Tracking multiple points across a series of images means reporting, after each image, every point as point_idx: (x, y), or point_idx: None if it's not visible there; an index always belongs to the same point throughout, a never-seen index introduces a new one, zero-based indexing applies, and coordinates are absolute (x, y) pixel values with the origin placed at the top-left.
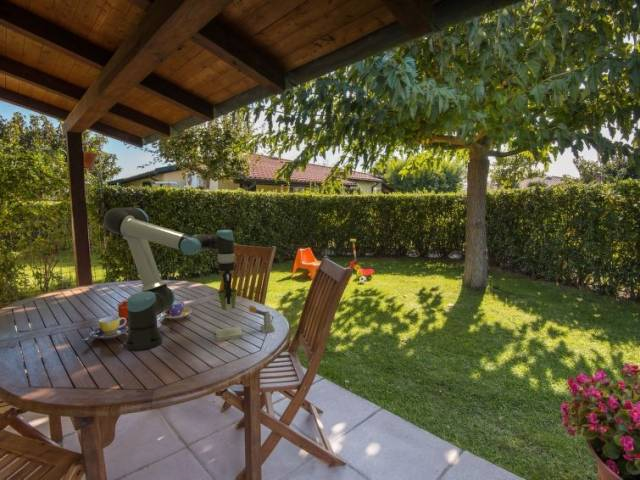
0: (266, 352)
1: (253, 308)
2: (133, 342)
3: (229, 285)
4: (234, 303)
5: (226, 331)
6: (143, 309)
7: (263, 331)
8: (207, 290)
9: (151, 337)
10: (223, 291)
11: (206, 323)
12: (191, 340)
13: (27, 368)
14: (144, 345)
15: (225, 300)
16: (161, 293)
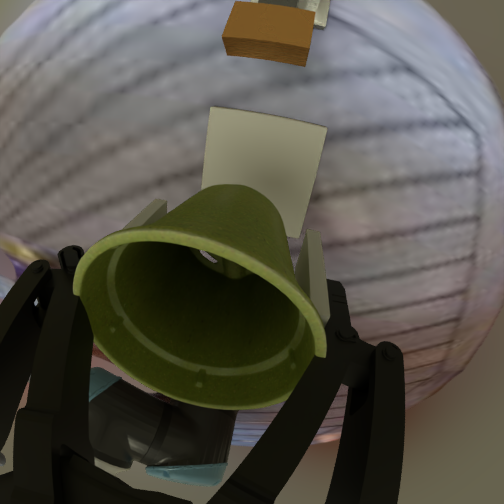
0: (498, 130)
1: (309, 32)
2: None
3: (388, 486)
4: (265, 210)
5: (245, 183)
6: (226, 464)
7: (324, 24)
8: None
9: None
10: (114, 332)
11: (96, 221)
12: None
13: (240, 440)
14: None
15: (280, 322)
16: (124, 446)
